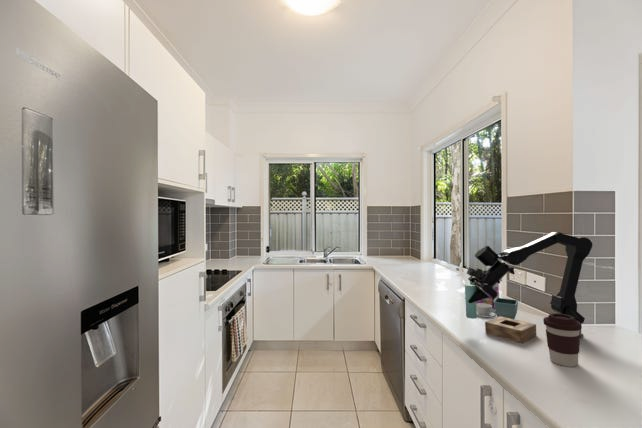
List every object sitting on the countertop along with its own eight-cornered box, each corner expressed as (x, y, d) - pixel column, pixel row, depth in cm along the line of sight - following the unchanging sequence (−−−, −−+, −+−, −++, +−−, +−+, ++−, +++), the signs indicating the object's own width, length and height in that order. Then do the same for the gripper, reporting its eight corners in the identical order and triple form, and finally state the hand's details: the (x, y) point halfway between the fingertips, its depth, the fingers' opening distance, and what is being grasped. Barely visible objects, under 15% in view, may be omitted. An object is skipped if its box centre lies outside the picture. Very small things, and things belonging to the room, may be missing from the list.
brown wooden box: (536, 335, 125) (535, 324, 125) (522, 343, 118) (521, 331, 118) (500, 326, 136) (499, 316, 137) (485, 332, 130) (485, 321, 130)
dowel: (478, 317, 129) (477, 285, 129) (473, 319, 127) (472, 287, 127) (469, 314, 132) (468, 284, 132) (464, 316, 130) (462, 285, 130)
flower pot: (517, 324, 138) (516, 304, 138) (494, 321, 143) (493, 301, 143) (519, 319, 145) (518, 299, 145) (497, 316, 150) (496, 297, 150)
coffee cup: (546, 353, 109) (544, 310, 110) (583, 360, 103) (581, 314, 103) (544, 363, 102) (541, 317, 102) (583, 372, 95) (581, 323, 96)
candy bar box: (500, 307, 164) (498, 275, 164) (493, 308, 162) (492, 276, 162) (481, 302, 174) (480, 272, 174) (475, 303, 172) (473, 273, 172)
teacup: (496, 318, 147) (495, 308, 147) (472, 316, 151) (472, 307, 151) (494, 312, 156) (493, 303, 156) (472, 310, 160) (471, 301, 160)
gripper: (471, 257, 138) (446, 282, 140) (487, 263, 120) (458, 292, 122) (491, 275, 137) (466, 300, 139) (510, 284, 119) (480, 313, 120)
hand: (467, 301), depth 130 cm, fingers closed on dowel, 4 cm apart
